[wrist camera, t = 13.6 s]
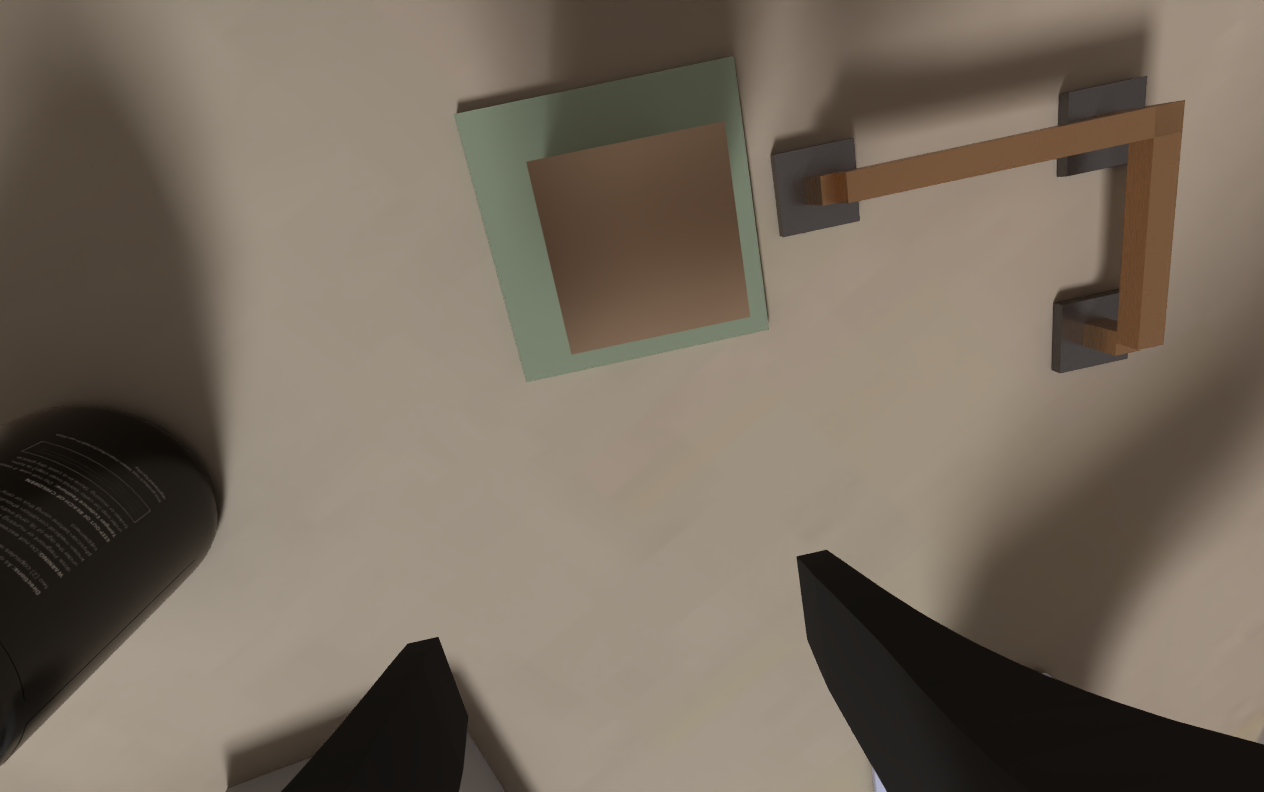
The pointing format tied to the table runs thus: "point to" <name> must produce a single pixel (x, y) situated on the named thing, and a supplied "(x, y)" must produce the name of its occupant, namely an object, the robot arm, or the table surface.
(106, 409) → the supplement bottle
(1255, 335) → the table surface
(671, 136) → the block
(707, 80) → the mat
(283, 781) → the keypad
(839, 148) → the brown angled rail
